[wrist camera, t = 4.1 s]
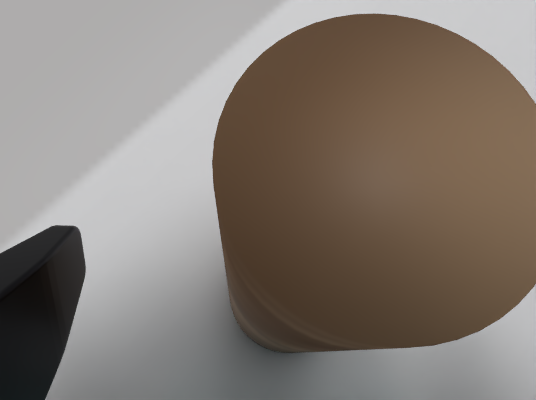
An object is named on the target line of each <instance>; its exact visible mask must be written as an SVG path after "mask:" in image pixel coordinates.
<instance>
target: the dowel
mask: <svg viewBox="0 0 536 400" xmlns="http://www.w3.org/2000/svg"><path fill="white" fill-rule="evenodd" d="M212 166H213V184H214V192H215V199H216V206H217V213H218V220H219V227H220V234H221V241H222V248H223V255H224V262H225V269H226V276H227V283H228V290H229V297H230V303H231V308H232V311H233V314H234V317H235V319H236V321H237V323H238V324H239V326H240V327H241V329H242V330H243V331H244V332H245V334H246V335H247V336H248V337H250V338H251V339H252V340H253V341H254V342H256V343H257V344H259V345H261V346H263V347H265V348H267V349H270V350H273V351H277V352H283V353H298V352H321V351H344V350H367V349H390V348H411V347H422V346H433V345H437V344H441V343H446V342H450V341H454V340H458V339H460V338H463V337H465V336H468V335H470V334H473V333H475V332H478V331H480V330H482V329H484V328H485V327H487V326H489V325H490V324H492V323H494V322H496V321H497V320H499V319H500V318H502V317H503V316H504V315H505V314H507V313H508V312H509V311H510V310H512V309H513V308H514V307H515V306H516V305H518V304H519V303H520V301H521V300H522V299H523V298H524V297H525V296H526V295H527V294H528V293H529V291H530V290H531V289H532V288H533V287H534V285H535V284H536V104H535V102H534V101H533V99H532V98H531V97H530V95H529V94H528V92H527V91H526V90H525V88H524V87H523V86H522V85H521V84H520V82H519V81H518V80H517V79H516V78H515V77H514V76H513V75H512V74H511V73H510V71H509V70H507V69H506V68H505V67H504V66H503V65H502V64H501V63H500V62H498V61H497V60H496V59H495V58H494V57H493V56H491V55H490V54H488V53H487V52H486V51H484V50H483V49H481V48H480V47H479V46H477V45H476V44H474V43H472V42H471V41H469V40H467V39H465V38H463V37H462V36H460V35H458V34H456V33H454V32H451V31H449V30H447V29H444V28H442V27H440V26H437V25H434V24H431V23H428V22H424V21H421V20H418V19H413V18H408V17H402V16H397V15H386V14H354V15H348V16H341V17H335V18H331V19H327V20H324V21H320V22H316V23H314V24H311V25H309V26H306V27H304V28H301V29H299V30H297V31H295V32H293V33H291V34H290V35H288V36H286V37H284V38H283V39H281V40H279V41H278V42H276V43H275V44H274V45H272V46H271V47H270V48H268V49H267V50H266V51H265V52H263V53H262V54H261V55H260V56H259V57H258V58H257V59H256V60H255V61H254V62H253V63H252V64H251V65H250V66H249V67H248V68H247V70H246V71H245V72H244V74H243V75H242V76H241V78H240V79H239V80H238V82H237V83H236V85H235V86H234V88H233V90H232V92H231V94H230V95H229V97H228V99H227V101H226V103H225V106H224V108H223V111H222V114H221V116H220V119H219V122H218V126H217V131H216V135H215V140H214V149H213V160H212Z"/></svg>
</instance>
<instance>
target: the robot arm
mask: <svg viewBox="0 0 536 400" xmlns="http://www.w3.org/2000/svg"><path fill="white" fill-rule="evenodd" d="M85 271H86V266H85V259H84V252H83V245H82V239H81V233H80V231H79V229H78V228H77V227H76V226H61V225H55V226H52V227H50V228H48V229H46V230H44V231H42V232H40V233H38V234H36V235H34V236H33V237H31V238H29V239H27V240H25V241H23V242H21V243H19V244H17V245H15V246H14V247H12V248H10V249H8V250H6V251H4V252H2V253H0V400H45V398H46V396H47V394H48V391H49V389H50V386H51V384H52V381H53V379H54V377H55V374H56V372H57V369H58V367H59V364H60V362H61V359H62V356H63V354H64V351H65V347H66V344H67V341H68V337H69V334H70V330H71V326H72V323H73V319H74V315H75V312H76V308H77V304H78V301H79V297H80V293H81V290H82V286H83V282H84V279H85Z"/></svg>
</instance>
